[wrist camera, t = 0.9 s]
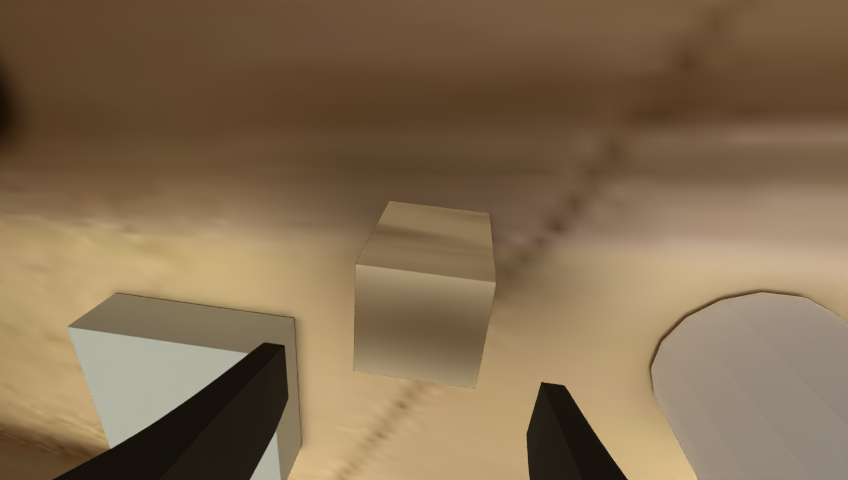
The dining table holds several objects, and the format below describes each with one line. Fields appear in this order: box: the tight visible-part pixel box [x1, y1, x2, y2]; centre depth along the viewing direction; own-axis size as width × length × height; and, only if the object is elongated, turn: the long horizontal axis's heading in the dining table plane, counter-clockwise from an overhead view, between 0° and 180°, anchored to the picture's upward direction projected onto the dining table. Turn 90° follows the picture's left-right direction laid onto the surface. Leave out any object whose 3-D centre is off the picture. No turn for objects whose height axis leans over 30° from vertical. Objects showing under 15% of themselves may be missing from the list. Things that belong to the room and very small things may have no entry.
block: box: [353, 201, 496, 389], centre depth 17 cm, size 4×4×6 cm
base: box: [67, 293, 301, 480], centre depth 23 cm, size 10×10×3 cm
